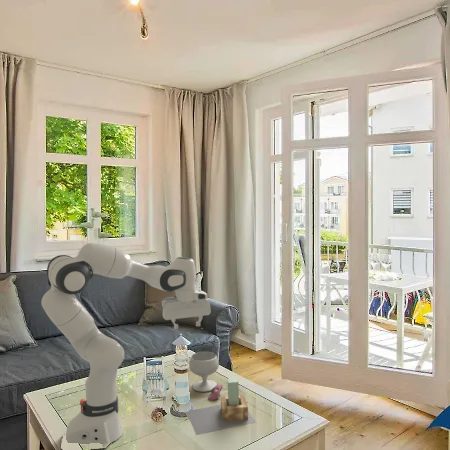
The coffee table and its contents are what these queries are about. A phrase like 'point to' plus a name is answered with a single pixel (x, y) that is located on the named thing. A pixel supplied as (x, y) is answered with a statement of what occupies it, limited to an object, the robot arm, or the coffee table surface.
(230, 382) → the bracket bar
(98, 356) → the robot arm
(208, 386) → the chalice
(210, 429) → the base board
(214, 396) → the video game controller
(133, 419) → the coffee table surface
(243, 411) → the square hole block
